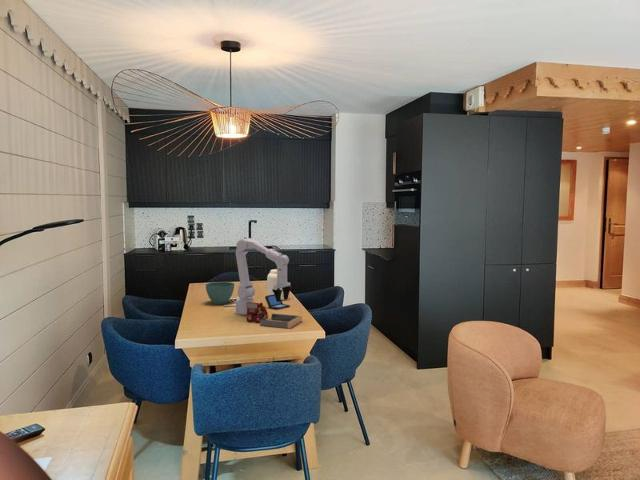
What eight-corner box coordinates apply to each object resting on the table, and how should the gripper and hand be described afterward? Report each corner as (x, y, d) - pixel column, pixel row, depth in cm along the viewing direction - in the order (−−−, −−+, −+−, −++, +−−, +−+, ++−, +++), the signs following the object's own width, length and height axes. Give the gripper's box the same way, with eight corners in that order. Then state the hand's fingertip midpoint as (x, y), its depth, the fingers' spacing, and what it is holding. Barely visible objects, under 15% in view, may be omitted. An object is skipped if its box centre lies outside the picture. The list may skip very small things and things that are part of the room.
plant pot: (237, 304, 306) (237, 285, 305) (208, 306, 299) (208, 287, 298) (231, 299, 323) (231, 281, 322) (203, 301, 316) (203, 282, 315)
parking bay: (259, 325, 254) (259, 319, 254) (272, 318, 269) (272, 313, 269) (290, 328, 249) (290, 322, 248) (301, 321, 264) (301, 316, 263)
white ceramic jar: (265, 300, 318) (265, 270, 317) (269, 297, 330) (269, 268, 329) (283, 301, 316) (283, 271, 315) (287, 297, 329) (287, 268, 327)
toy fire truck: (264, 323, 259) (264, 304, 258) (243, 321, 263) (243, 302, 262) (269, 320, 265) (269, 302, 264) (249, 318, 269) (249, 300, 268)
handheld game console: (276, 310, 291) (276, 298, 290) (264, 308, 298) (264, 296, 297) (290, 307, 301) (290, 295, 300) (278, 304, 307) (278, 293, 307)
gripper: (280, 279, 262) (280, 303, 263) (295, 275, 274) (294, 299, 276) (270, 277, 265) (270, 302, 266) (284, 274, 278) (284, 297, 279)
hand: (282, 300), depth 271 cm, fingers open, 7 cm apart
